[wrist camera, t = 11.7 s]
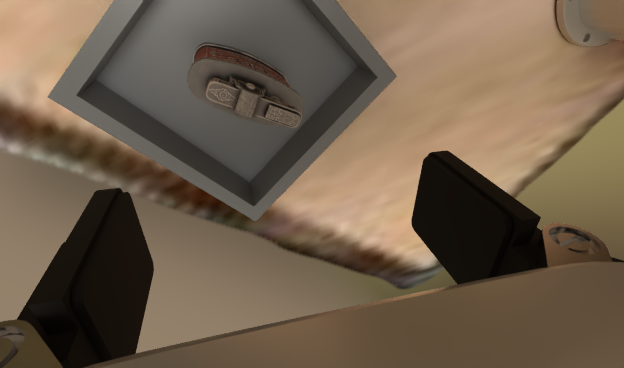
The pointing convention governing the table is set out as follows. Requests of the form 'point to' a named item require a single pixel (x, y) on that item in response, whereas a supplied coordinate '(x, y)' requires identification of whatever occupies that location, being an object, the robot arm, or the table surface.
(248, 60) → the lighter
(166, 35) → the bin
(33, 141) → the table surface
